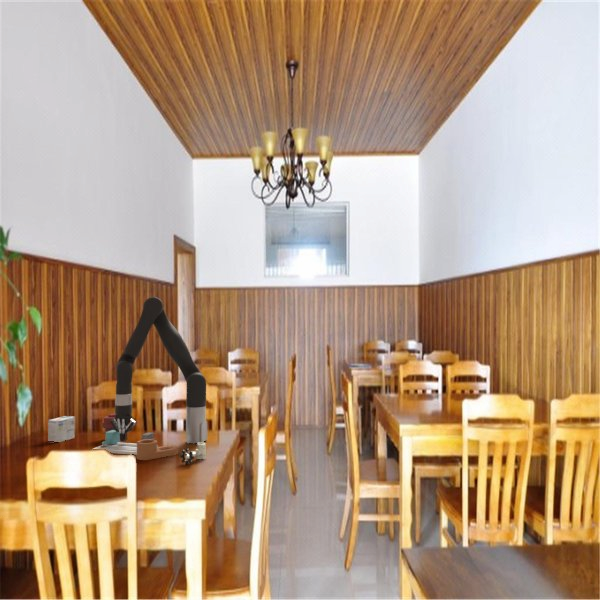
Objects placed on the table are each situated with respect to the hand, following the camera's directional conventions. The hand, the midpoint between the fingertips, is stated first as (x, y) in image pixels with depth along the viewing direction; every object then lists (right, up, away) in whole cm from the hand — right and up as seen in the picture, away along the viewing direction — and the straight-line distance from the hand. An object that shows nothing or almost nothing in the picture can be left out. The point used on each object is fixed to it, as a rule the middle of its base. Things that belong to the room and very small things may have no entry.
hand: (123, 441), depth 227 cm
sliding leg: (-6, -1, -1) cm, 6 cm away
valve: (+38, -2, -22) cm, 44 cm away
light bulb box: (-36, -4, +14) cm, 39 cm away
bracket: (+20, -3, -13) cm, 24 cm away
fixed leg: (+12, -1, -6) cm, 13 cm away
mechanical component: (-11, -4, +15) cm, 19 cm away
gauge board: (+2, -3, -4) cm, 5 cm away
